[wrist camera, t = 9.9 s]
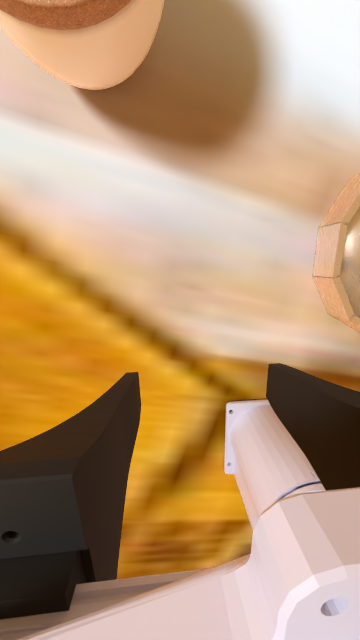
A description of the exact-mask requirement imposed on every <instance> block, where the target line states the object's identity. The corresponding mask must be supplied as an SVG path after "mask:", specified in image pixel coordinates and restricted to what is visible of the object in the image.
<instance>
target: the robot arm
mask: <svg viewBox="0 0 360 640" xmlns="http://www.w3.org/2000/svg"><path fill="white" fill-rule="evenodd" d="M266 397H267V399H263V400H249V401H235V402H229V403H227V405H226V425H225V459H224V470H225V473H226V474H234V475H235V478H236V481H237V484H238V487H239V490H240V493H241V496H242V499H243V502H244V505H245V508H246V511H247V514H248V517H249V520H250V523H251V526H252V529H253V531H254V532H253V536H252V549H251V554H249V555H246V556H243V557H240V558H238V559H235V560H232V561H230V562H227V563H224V564H221V565H219V566H216V567H213V568H209V569H200V570H192V571H184V572H175V573H167V574H158V575H150V576H142V577H133V578H125V579H116V578H117V568H118V558H119V549H120V539H121V530H122V521H123V513H124V504H125V496H126V488H127V480H128V473H129V468H130V463H131V458H132V454H133V449H134V445H135V440H136V436H137V431H138V427H139V422H140V412H141V399H140V387H139V376H138V372H132V373H126V374H125V375H124V376H123V377H122V378H121V379H120V380H119V381H117V382H116V383H115V384H114V385H113V386H112V387H111V388H110V389H109V390H108V391H107V392H106V393H104V394H103V395H102V396H101V397H100V398H98V399H97V400H96V401H95V402H93V403H92V404H91V405H89V406H88V407H87V408H85V409H84V410H82V411H81V412H79V413H78V414H76V415H75V416H73V417H71V418H70V419H68V420H66V421H64V422H63V423H61V424H59V425H57V426H56V427H54V428H52V429H50V430H48V431H46V432H44V433H42V434H40V435H38V436H35V437H33V438H31V439H29V440H27V441H24V442H22V443H20V444H17V445H15V446H12V447H9V448H7V449H4V450H2V451H0V640H360V392H358V391H354V390H351V389H348V388H345V387H342V386H339V385H336V384H333V383H330V382H328V381H325V380H322V379H320V378H317V377H315V376H312V375H310V374H307V373H305V372H302V371H300V370H297V369H295V368H292V367H289V366H286V365H283V364H280V363H279V364H269V368H268V379H267V391H266ZM230 410H232V411H231V412H229V411H230Z"/></svg>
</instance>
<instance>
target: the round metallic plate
mask: <svg viewBox="0 0 360 640" xmlns="http://www.w3.org/2000/svg"><path fill="white" fill-rule="evenodd" d="M312 276H313V279H314V282H315V284H316V286H317V289H318V291H319V293H320V296H321V298H322V300H323V303H324V305H325V307H326V310H327V312H328V313H329V314H330V315H331V316H333V317H335V318H336V319H338V320H340V321H341V322H343V323H345V324H346V325H348V326H350V327H351V328H353V329H355V330H356V331H358V332H360V173H359V174H357V175H356V176H354V177H353V178H351V179H349V180H348V182H347V183H346V185H345V186H344V188H343V189H342V191H341V193H340V194H339V196H338V197H337V199H336V200H335V202H334V204H333V205H332V207H331V208H330V210H329V212H328V213H327V215H326V216H325V218H324V219H323V221H322V223H321V224H320V226H319V228H318V235H317V243H316V251H315V259H314V267H313V274H312Z"/></svg>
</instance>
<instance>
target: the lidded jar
mask: <svg viewBox="0 0 360 640" xmlns="http://www.w3.org/2000/svg"><path fill="white" fill-rule="evenodd" d="M163 5H164V0H0V28H1V29H2V30H3V31H4V33H5V34H6V35H7V36H8V37H9V38H10V40H11V41H12V42H13V43H14V44H15V45H16V46H17V47H18V48H19V49H20V50H22V51H23V52H24V53H25V54H26V55H27V56H28V57H29V58H30V59H31V60H32V61H33V62H34V63H35V64H36V65H38V66H39V67H41V68H42V69H43V70H45V71H46V72H48V73H49V74H50V75H52V76H53V77H55V78H57V79H59V80H61V81H63V82H65V83H66V84H69V85H72V86H75V87H78V88H83V89H90V90H100V89H106V88H110V87H113V86H115V85H117V84H120V83H122V82H123V81H124V80H126V79H127V78H128V77H130V76H131V75H132V74H133V72H134V71H135V70H136V69H137V68H138V67H139V66H140V65H141V63H142V62H143V60H144V59H145V57H146V56H147V54H148V52H149V49H150V47H151V45H152V43H153V40H154V38H155V35H156V33H157V29H158V26H159V23H160V19H161V15H162V10H163Z"/></svg>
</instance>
